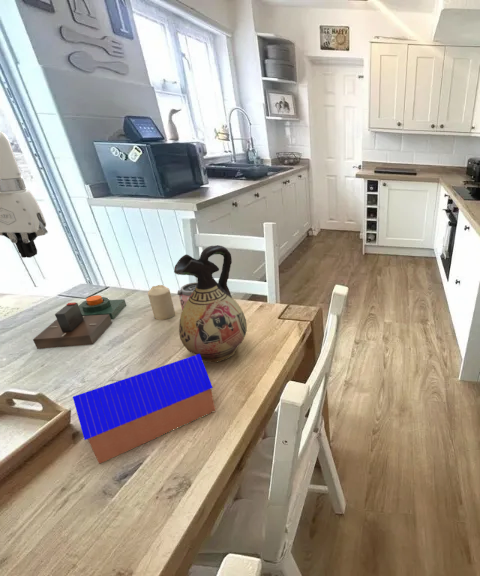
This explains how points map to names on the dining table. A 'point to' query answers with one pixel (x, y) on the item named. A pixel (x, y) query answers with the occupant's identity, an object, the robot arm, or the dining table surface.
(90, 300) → the button
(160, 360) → the dining table surface
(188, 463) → the dining table surface
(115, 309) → the button box
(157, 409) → the house
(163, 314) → the candle
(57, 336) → the panel
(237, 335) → the ceramic jug
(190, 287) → the pink lidded cup
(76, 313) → the dark grey block
